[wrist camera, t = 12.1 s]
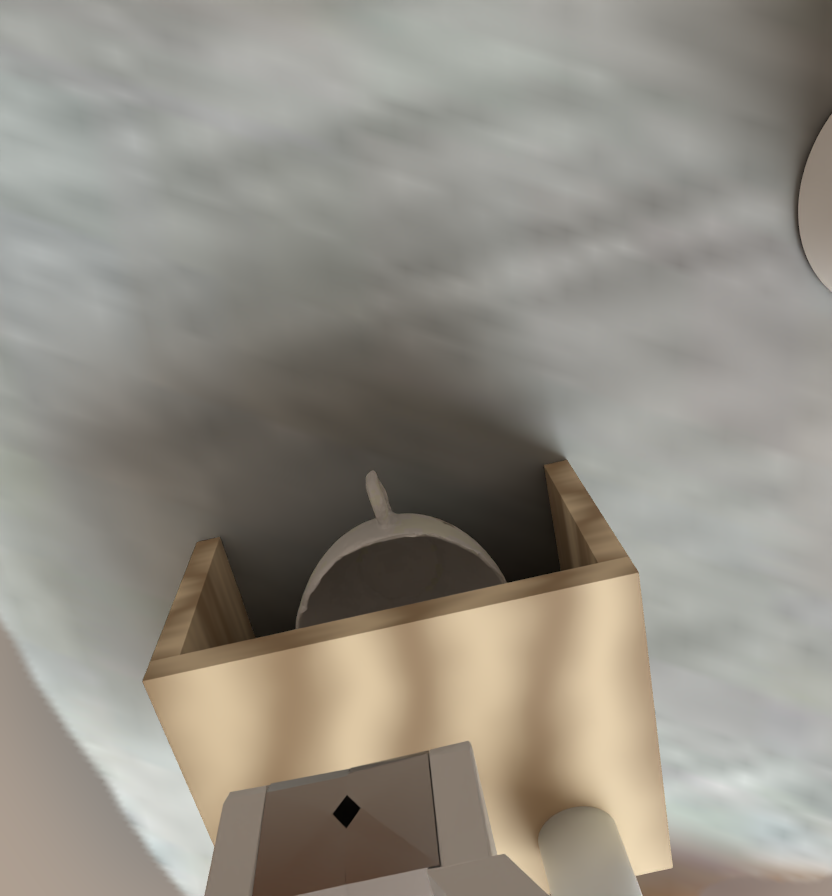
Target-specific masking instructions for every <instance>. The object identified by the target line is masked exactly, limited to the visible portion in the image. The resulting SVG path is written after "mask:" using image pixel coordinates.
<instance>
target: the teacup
mask: <svg viewBox="0 0 832 896" xmlns="http://www.w3.org/2000/svg"><path fill="white" fill-rule="evenodd" d="M366 490H367V493H368V496H369V499H370V502H371V505H372V508H373V511H374V514H375V516H376V518H375V519H372V520H369V521H366V522H364V523H362V524H360V525H358V526H356V527H354V528H353V529H351V530H350V531H348V532H347V533H345V534H344V535H343V536H342V537H341V538H339V539H338V540H337V541H336V542H335V543H334V544H333V545H332V546H331V547H330V548H329V550H328V551H327V552H326V553H325V554H324V556H323V557H322V559H321V560H320V561H319V563H318V564H317V566H316V568H315V569H314V571H313V573H312V575H311V576H310V578H309V581H308V583H307V585H306V588H305V590H304V593H303V595H302V599H301V603H300V606H299V610H298V613H297V617H296V629H300V628H304V627H309V626H314V625H318V624H323V623H327V622H332V621H336V620H341V619H345V618H350V617H355V616H359V615H364V614H368V613H373V612H377V611H382V610H386V609H391V608H396V607H400V606H405V605H409V604H414V603H418V602H423V601H427V600H432V599H437V598H441V597H446V596H450V595H455V594H459V593H464V592H468V591H473V590H478V589H482V588H487V587H491V586H496V585H500V584H505V583H507V582H506V580H505V578H504V576H503V574H502V573H501V571H500V569H499V568H498V566H497V565H496V563H495V562H494V561H493V559H492V558H491V557H490V556H489V554H488V553H487V552H486V551H485V550H484V549H483V548H482V547H481V546H480V545H479V544H478V543H477V542H476V541H475V540H474V539H473V538H472V537H470V536H469V535H468V534H466V533H465V532H463V531H462V530H460V529H459V528H457V527H456V526H454V525H452V524H450V523H447V522H445V521H443V520H441V519H438V518H435V517H431V516H427V515H422V514H415V513H402V514H397V513H394V512H393V511H392V509H391V507H390V504H389V501H388V496H387V492H386V490H385V488H384V487H383V485H382V484H381V482H380V481H379V479H378V477H377V473H376V472H375V471H373V470H372V471H370V472H369V473H368V474H367V475H366Z"/></svg>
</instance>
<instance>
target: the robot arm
mask: <svg viewBox="0 0 832 896" xmlns="http://www.w3.org/2000/svg"><path fill="white" fill-rule="evenodd" d="M798 220H799V230H800V236H801V241H802V245H803V248H804V251H805V254H806V257H807V259H808V261H809V263H810V265H811V267H812V269H813V270H814V272H815V274H816V275H817V276H818V278H819V279H820V280H821V282H822V283H823V284H824V285H825V286H826V287H827V288H828V289H829V290H830V291H831V292H832V114H831V116H830V117H829V119H828V120H827V122H826V123H825V125H824V126H823V128H822V130H821V132H820V133H819V135H818V137H817V139H816V141H815V143H814V145H813V148H812V150H811V152H810V155H809V157H808V160H807V163H806V166H805V170H804V173H803V177H802V182H801V187H800V193H799V203H798ZM205 896H549V895H548V894H547V893H546V892H545V891H544V890H543V889H542V888H540V887H539V886H538V885H537V884H536V883H535V882H534V881H533V880H532V879H531V878H530V877H529V876H528V875H527V874H526V873H525V872H524V871H523V870H521V869H520V868H519V867H518V866H517V865H516V864H515V863H514V862H513V861H512V860H511V859H510V858H509V857H508V856H507V855H506V854H500V855H497V851H496V847H495V842H494V838H493V834H492V829H491V825H490V821H489V816H488V812H487V808H486V803H485V799H484V795H483V790H482V786H481V782H480V778H479V773H478V769H477V765H476V761H475V756H474V752H473V748H472V745H471V742H469V741H465V742H461V743H456V744H452V745H448V746H443V747H439V748H435V749H430V751H429V750H428V751H423V752H419V753H414V754H410V755H405V756H401V757H397V758H392V759H388V760H383V761H379V762H374V763H370V764H366V765H361V766H357V767H352V768H350V769H345V770H339V771H334V772H329V773H324V774H318V775H313V776H308V777H302V778H297V779H292V780H287V781H281V782H276V783H271V784H270V785H266V786H261V787H255V788H250V789H244V790H239V791H233V792H230V793H229V795H228V797H227V798H226V800H225V802H224V803H223V807H222V812H221V817H220V822H219V827H218V832H217V837H216V842H215V847H214V852H213V856H212V861H211V866H210V871H209V876H208V881H207V886H206V891H205Z"/></svg>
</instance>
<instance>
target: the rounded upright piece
mask: <svg viewBox="0 0 832 896" xmlns="http://www.w3.org/2000/svg"><path fill="white" fill-rule="evenodd" d="M538 845H539V849H540V853H541V857H542V861H543V865H544V869H545V873H546V877H547V880H548V884H549V888H550V892H551V896H643V895H642V893H641V890H640V887H639V885H638V882H637V879H636V877H635V874H634V871H633V869H632V866H631V863H630V861H629V858H628V855H627V853H626V850H625V847H624V844H623V842H622V839H621V836H620V834H619V831H618V828H617V826H616V823H615V821H614V819H613V818H612V817H611V816H610V815H609V814H608V813H606V812H605V811H603V810H601V809H598V808H595V807H589V806H579V807H572V808H569V809H565V810H563V811H561V812H559V813H557V814H555V815H554V816H552V817H551V818H550V819H549V820H547V821H546V823H545V824H544V825H543V827H542V828H541V830H540V833H539V836H538Z"/></svg>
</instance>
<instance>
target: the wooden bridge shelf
mask: <svg viewBox="0 0 832 896" xmlns="http://www.w3.org/2000/svg"><path fill="white" fill-rule="evenodd" d="M544 470H545V476H546V482H547V488H548V494H549V501H550V507H551V513H552V519H553V525H554V532H555V538H556V544H557V550H558V557H559V563H560V569H561V571H559V572H555V573H550V574H546V575H541V576H537V577H532V578H528V579H523V580H518V581H514V582H509V583H505V584H500V585H496V586H491V587H487V588H482V589H478V590H473V591H468V592H464V593H459V594H455V595H450V596H446V597H441V598H437V599H432V600H427V601H423V602H418V603H414V604H409V605H405V606H400V607H396V608H391V609H386V610H382V611H377V612H373V613H368V614H364V615H359V616H355V617H350V618H345V619H341V620H336V621H332V622H327V623H323V624H318V625H314V626H309V627H304V628H300V629H295V630H291V631H286V632H282V633H277V634H273V635H268V636H264V637H259V638H256V637H255V635H254V632H253V629H252V626H251V623H250V620H249V618H248V615H247V612H246V609H245V606H244V604H243V601H242V598H241V595H240V592H239V589H238V587H237V584H236V581H235V578H234V575H233V573H232V570H231V567H230V564H229V561H228V558H227V556H226V553H225V550H224V547H223V544H222V542H221V539H220V537H217V538H213V539H208V540H204V541H199V542H197V543H196V546H195V548H194V551H193V553H192V556H191V558H190V561H189V563H188V566H187V569H186V571H185V574H184V576H183V579H182V581H181V584H180V586H179V589H178V592H177V594H176V597H175V599H174V602H173V604H172V607H171V609H170V612H169V615H168V617H167V620H166V622H165V625H164V627H163V630H162V632H161V635H160V638H159V640H158V643H157V645H156V648H155V650H154V653H153V655H152V658H151V661H150V663H149V666H148V668H147V671H146V673H145V676H144V678H143V681H142V682H143V684H144V686H145V689H146V691H147V693H148V696H149V698H150V700H151V702H152V705H153V707H154V709H155V712H156V714H157V716H158V718H159V721H160V723H161V725H162V728H163V730H164V732H165V735H166V737H167V739H168V741H169V744H170V746H171V748H172V751H173V753H174V755H175V757H176V760H177V762H178V764H179V767H180V769H181V771H182V774H183V776H184V778H185V780H186V783H187V785H188V787H189V790H190V792H191V794H192V796H193V799H194V801H195V803H196V806H197V808H198V810H199V813H200V815H201V817H202V819H203V822H204V824H205V826H206V829H207V831H208V833H209V835H210V838H211V840H212V842H213V845H214V847H215V842H216V837H217V832H218V827H219V822H220V817H221V812H222V807H223V803H224V802H225V800H226V798H227V797H228V795H229V793H230V792H233V791H239V790H244V789H250V788H255V787H261V786H266V785H270V784H271V783H276V782H281V781H287V780H292V779H297V778H302V777H308V776H313V775H318V774H324V773H329V772H334V771H339V770H345V769H350V768H352V767H357V766H361V765H366V764H370V763H374V762H379V761H383V760H388V759H392V758H397V757H401V756H405V755H410V754H414V753H419V752H423V751H428V750H429V751H430V749H435V748H439V747H443V746H448V745H452V744H456V743H461V742H465V741H469V742H471V745H472V748H473V752H474V756H475V761H476V765H477V769H478V773H479V778H480V782H481V786H482V790H483V795H484V799H485V803H486V808H487V812H488V816H489V821H490V825H491V829H492V834H493V838H494V842H495V847H496V851H497V855H500V854H506V855H507V856H508V857H509V858H510V859H511V860H512V861H513V862H514V863H515V864H516V865H517V866H518V867H519V868H520V869H521V870H523V871H524V872H525V873H526V874H527V875H528V876H529V877H530V878H531V879H532V880H533V881H534V882H535V883H536V884H537V885H538V886H539V887H540V888H542V889H543V890H544V891H545V892H546V893H547V894H551V892H550V888H549V884H548V880H547V877H546V873H545V869H544V865H543V861H542V857H541V853H540V849H539V845H538V836H539V833H540V830H541V828H542V827H543V825H544V824H545V823H546V821H547V820H549V819H550V818H551V817H552V816H554V815H555V814H557V813H559V812H561V811H563V810H565V809H569V808H572V807H579V806H589V807H595V808H598V809H601V810H603V811H605V812H606V813H608V814H609V815H610V816H611V817H612V818H613V819H614V821H615V823H616V826H617V828H618V831H619V834H620V836H621V839H622V842H623V844H624V847H625V850H626V853H627V855H628V858H629V861H630V863H631V866H632V869H633V871H634V874H635V876H637V875H641V874H646V873H651V872H655V871H660V870H665V869H670V868H673V865H672V857H671V848H670V839H669V831H668V822H667V813H666V805H665V796H664V787H663V779H662V770H661V761H660V753H659V744H658V735H657V727H656V718H655V709H654V701H653V692H652V683H651V675H650V666H649V657H648V649H647V640H646V631H645V623H644V614H643V605H642V597H641V588H640V579H639V572H638V571H637V569H636V567H635V566H634V564H633V563H632V561H631V560H630V558H629V556H628V555H627V553H626V552H625V550H624V549H623V547H622V545H621V544H620V542H619V541H618V539H617V538H616V536H615V534H614V533H613V531H612V530H611V528H610V527H609V525H608V523H607V522H606V520H605V519H604V517H603V516H602V514H601V512H600V511H599V509H598V508H597V506H596V505H595V503H594V501H593V500H592V498H591V497H590V495H589V494H588V492H587V490H586V489H585V487H584V486H583V484H582V483H581V481H580V479H579V478H578V476H577V475H576V473H575V472H574V470H573V468H572V467H571V465H570V464H569V462H568V461H567V460H564V461H560V462H555V463H551V464H546V465H544Z"/></svg>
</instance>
